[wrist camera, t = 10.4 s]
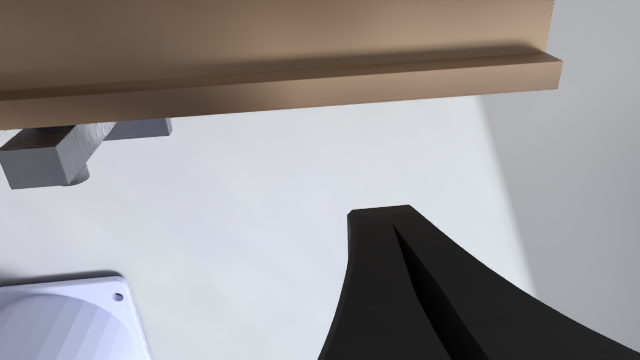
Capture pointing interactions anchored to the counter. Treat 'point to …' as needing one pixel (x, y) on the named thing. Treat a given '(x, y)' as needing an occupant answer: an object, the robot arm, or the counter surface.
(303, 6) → the beam
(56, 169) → the stand
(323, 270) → the counter surface
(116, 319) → the robot arm
